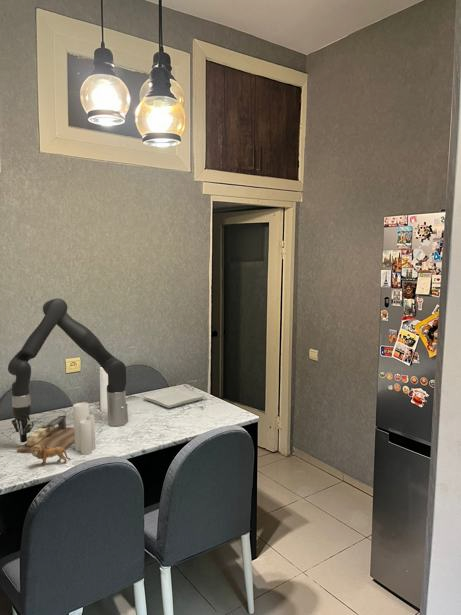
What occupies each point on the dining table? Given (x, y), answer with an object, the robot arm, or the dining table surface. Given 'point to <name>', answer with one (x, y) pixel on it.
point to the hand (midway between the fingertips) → (23, 441)
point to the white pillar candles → (84, 428)
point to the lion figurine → (48, 453)
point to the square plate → (174, 397)
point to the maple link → (38, 435)
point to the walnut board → (54, 436)
